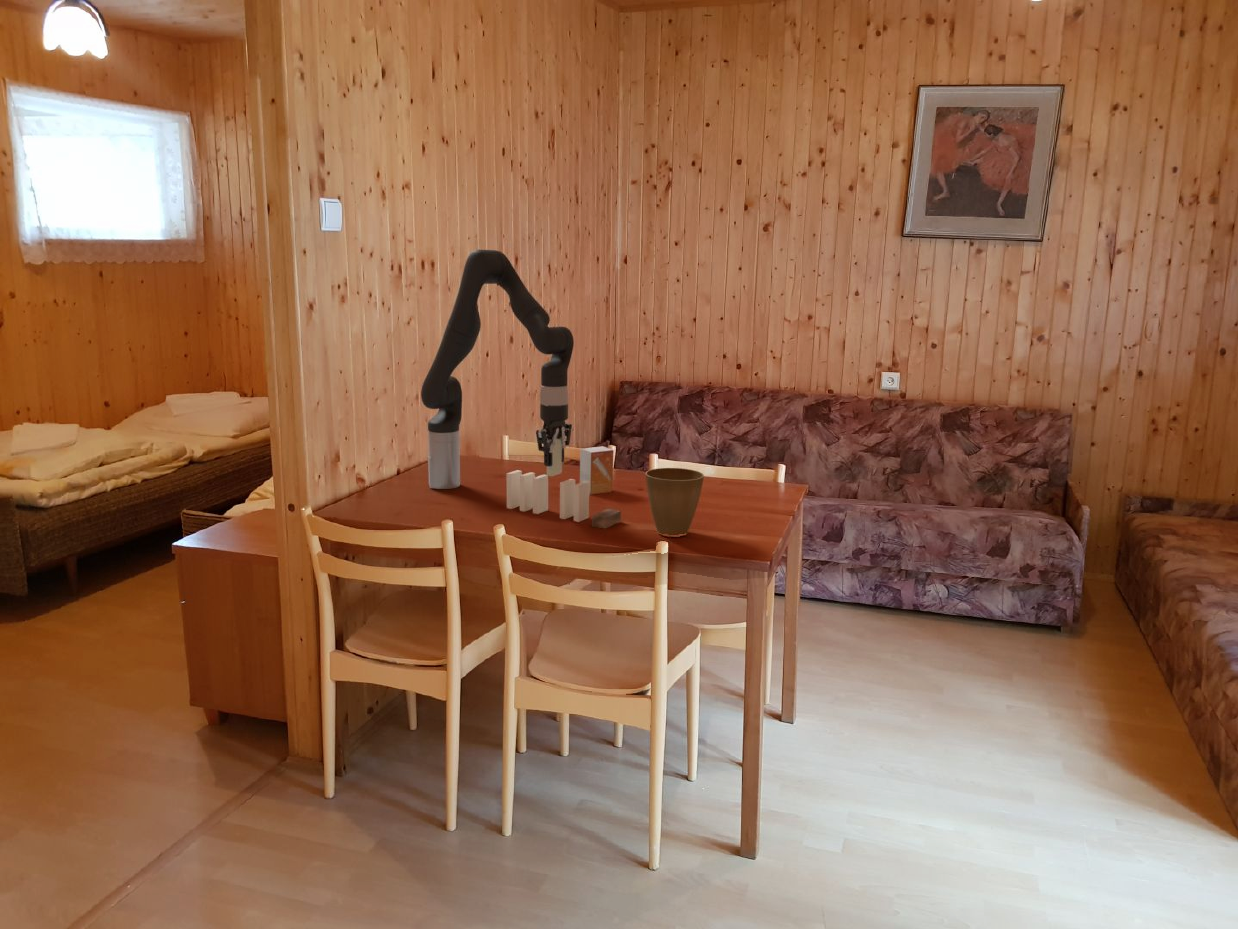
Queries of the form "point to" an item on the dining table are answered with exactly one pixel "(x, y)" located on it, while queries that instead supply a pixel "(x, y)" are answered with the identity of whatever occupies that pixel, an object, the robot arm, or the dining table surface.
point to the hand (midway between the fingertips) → (554, 463)
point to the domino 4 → (555, 459)
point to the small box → (597, 469)
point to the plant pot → (673, 498)
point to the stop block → (606, 518)
